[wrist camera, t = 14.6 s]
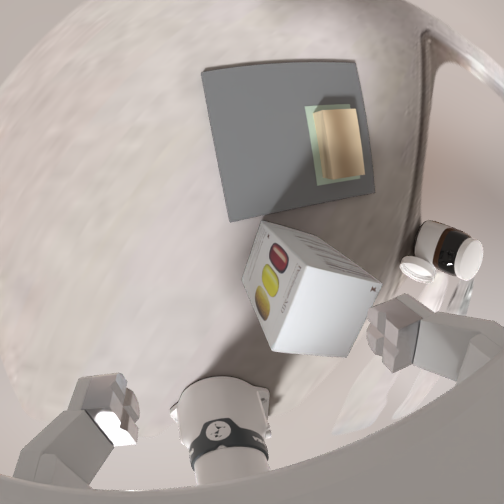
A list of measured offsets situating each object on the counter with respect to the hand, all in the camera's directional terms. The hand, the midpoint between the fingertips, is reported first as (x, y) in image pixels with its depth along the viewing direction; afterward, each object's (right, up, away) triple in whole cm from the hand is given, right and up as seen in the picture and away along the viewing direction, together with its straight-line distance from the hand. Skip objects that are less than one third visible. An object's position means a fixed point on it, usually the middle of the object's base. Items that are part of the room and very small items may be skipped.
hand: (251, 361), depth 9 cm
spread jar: (+31, +4, +39) cm, 50 cm away
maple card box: (+11, +18, +29) cm, 36 cm away
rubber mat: (+6, +19, +28) cm, 35 cm away
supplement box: (+4, +2, +34) cm, 34 cm away
